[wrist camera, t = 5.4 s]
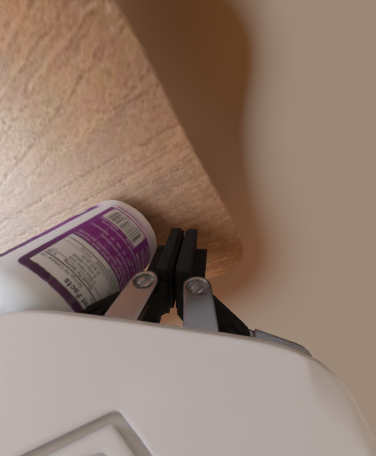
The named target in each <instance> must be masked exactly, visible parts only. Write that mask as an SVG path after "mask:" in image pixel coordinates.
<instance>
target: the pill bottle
mask: <svg viewBox="0 0 376 456" xmlns="http://www.w3.org/2000/svg"><path fill="white" fill-rule="evenodd" d="M156 247H157V243H156V236H155V233H154V231H153V229H152V227H151V225H150V223H149V222H148V221H147V219H146V218H145V217H144V216H143V215H142V214H141V213H140V212H139V211H137V210H136V209H135V208H133V207H132V206H130V205H128V204H126V203H124V202H122V201H117V200H107V201H103V202H101V203H99V204H97V205H95V206H93V207H91V208H89V209H87V210H85V211H83V212H81V213H79V214H77V215H76V216H74V217H71V218H69V219H68V220H66V221H64V222H62V223H60V224H58V225H56V226H54V227H52V228H50V229H48V230H47V231H45V232H43V233H41V234H39V235H37V236H35V237H33V238H31V239H29V240H27V241H25V242H23V243H21V244H19V245H17V246H15V247H13V248H11V249H9V250H8V251H6V252H4V253H2V254H0V316H1V315H4V314H8V313H13V312H18V311H27V310H54V311H65V312H74V313H82V312H83V311H84V310H85V309H86V308H87V307H88V306H90V305H91V304H93V303H95V302H97V301H99V300H101V299H104V298H106V297H108V296H110V295H112V294H114V293H116V292H118V291H120V290H122V289H124V287H125V286H126V285H127V283H128V282H129V281H130V279H131V278H132V277H133V276H134V275H135V274H137V273H139V272H142V271H144V269H145V268H146V267H147V266H148V264H149V263H150V262H151V260H152V258H153V256H154V254H155V252H156Z"/></svg>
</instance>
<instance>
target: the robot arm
mask: <svg viewBox="0 0 376 456" xmlns="http://www.w3.org/2000/svg"><path fill="white" fill-rule="evenodd" d="M196 248H197V229H189V231H186V232H185V235H184V231H183V230H181V228H172V229H171V232H170V234H169V237H168V239H167V242H166V244H165V246H161V245H159V246H158V247H157V249H156V252H155V254H154V256H153V258H152V260H151V263H150V265H149V267H148V269H147V271H142V272H139V273H137V274H135V275H134V276H133V277H132V278H131V279H130V281H129V282H128V283H127V285H126V286H125V287H124V289H122V290H120V291H118V292H116V293H114V294H112V295H110V296H108V297H106V298H104V299H101V300H99V301H97V302H95V303H93V304H91V305H90V306H88V307H87V308H86V309H85V310H84V311H83V312H82V313H74V312H65V311H54V310H27V311H18V312H13V313H8V314H4V315H1V316H0V456H376V439H375V437H374V435H373V433H372V431H371V430H370V428H369V426H368V424H367V422H366V420H365V418H364V416H363V415H362V413H361V411H360V409H359V408H358V406H357V404H356V402H355V401H354V399H353V397H352V396H351V394H350V393H349V391H348V390H347V388H346V387H345V385H344V384H343V383H342V382H341V380H340V379H339V378H338V377H337V376H336V374H335V373H333V372H332V371H331V370H330V369H329V368H328V367H326V366H325V365H324V364H322V363H321V362H320V361H318V360H316V359H314V358H313V357H312V356H311V354H310V353H309V351H308V350H306V349H305V348H304V347H303V346H301V345H299V344H297V343H294V342H291V341H289V340H286V339H283V338H280V337H277V336H274V335H271V334H268V333H265V332H263V331H260V330H257V329H255V331H253V330H250V329H248V327H247V326H246V325H245V324H244V323H243V322H242V321H241V320H240V319H239V318H238V317H237V316H236V315H235V314H233V313H232V312H231V311H230V310H229V309H228V308H227V307H226V306H225V305H224V304H223V303H222V302H220V301H219V300H218V299H217V298H216V297H215V296H214V295H213V294H212V287H211V284H210V283H209V281H208V280H207V279H205V270H206V256H207V250H204V249H196ZM175 300H176V308H177V314H178V316H179V317H180V318H181V319H182V321H183V327H181V326H173V325H166V324H159V323H160V320H161V316H162V315H164V314H165V313H169V312H170V308H174V304H175Z"/></svg>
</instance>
